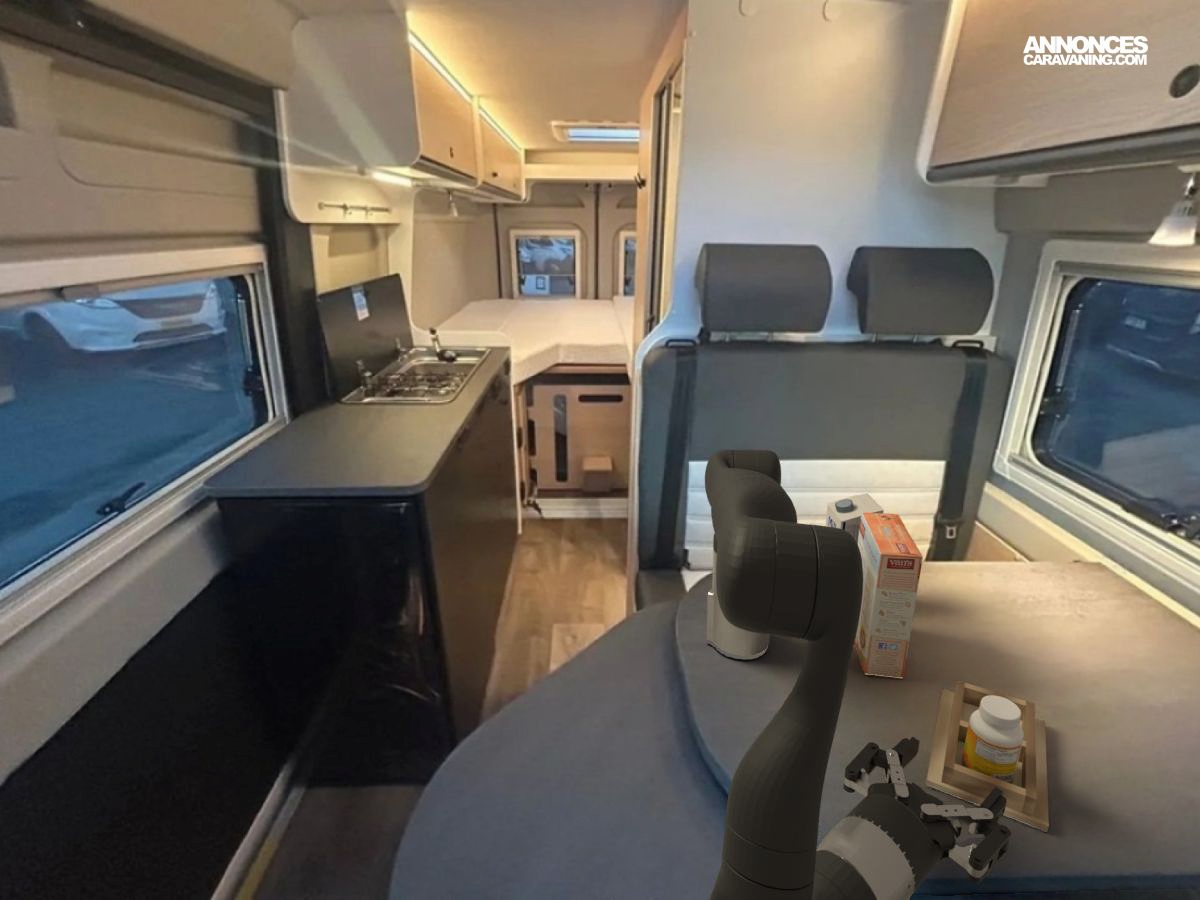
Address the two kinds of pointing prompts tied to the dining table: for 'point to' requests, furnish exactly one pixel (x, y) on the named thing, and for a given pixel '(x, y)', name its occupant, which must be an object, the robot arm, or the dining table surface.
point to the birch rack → (951, 777)
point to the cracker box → (886, 593)
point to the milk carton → (851, 512)
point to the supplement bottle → (994, 739)
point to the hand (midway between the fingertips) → (954, 768)
